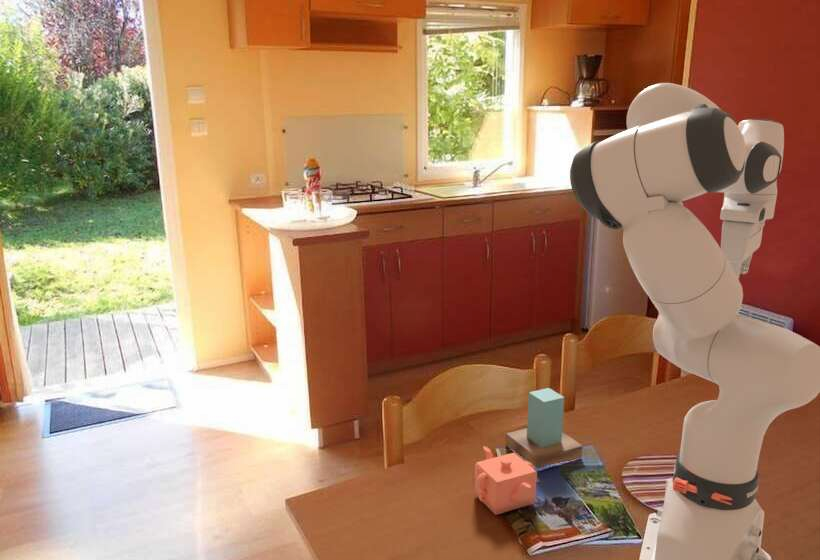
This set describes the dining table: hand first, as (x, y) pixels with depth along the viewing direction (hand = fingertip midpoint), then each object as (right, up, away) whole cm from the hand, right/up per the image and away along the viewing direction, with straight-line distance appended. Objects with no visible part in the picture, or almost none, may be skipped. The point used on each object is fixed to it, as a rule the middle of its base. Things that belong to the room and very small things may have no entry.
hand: (737, 277), depth 126 cm
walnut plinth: (-37, -36, +7) cm, 52 cm away
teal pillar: (-37, -33, +6) cm, 50 cm away
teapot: (-47, -41, -9) cm, 63 cm away
